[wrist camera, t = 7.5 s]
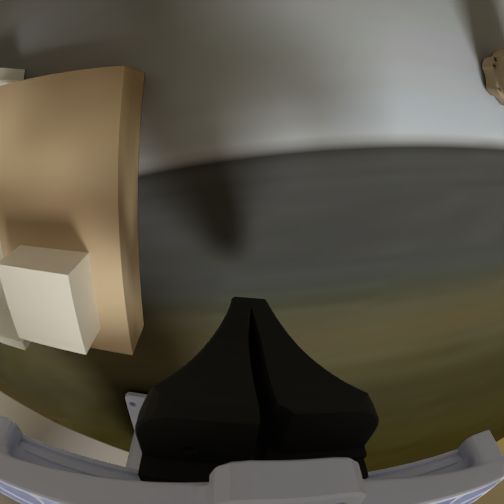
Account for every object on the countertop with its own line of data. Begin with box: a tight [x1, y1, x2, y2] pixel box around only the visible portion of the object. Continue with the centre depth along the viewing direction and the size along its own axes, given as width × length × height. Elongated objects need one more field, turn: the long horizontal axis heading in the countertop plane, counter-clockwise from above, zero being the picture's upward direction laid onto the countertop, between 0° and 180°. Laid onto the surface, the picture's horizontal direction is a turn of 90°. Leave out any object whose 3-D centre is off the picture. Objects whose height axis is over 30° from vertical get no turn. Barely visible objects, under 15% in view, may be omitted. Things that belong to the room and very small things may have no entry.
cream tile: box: [0, 245, 101, 355], centre depth 12 cm, size 4×4×2 cm
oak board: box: [0, 65, 145, 355], centre depth 12 cm, size 13×7×2 cm, turn 174°
